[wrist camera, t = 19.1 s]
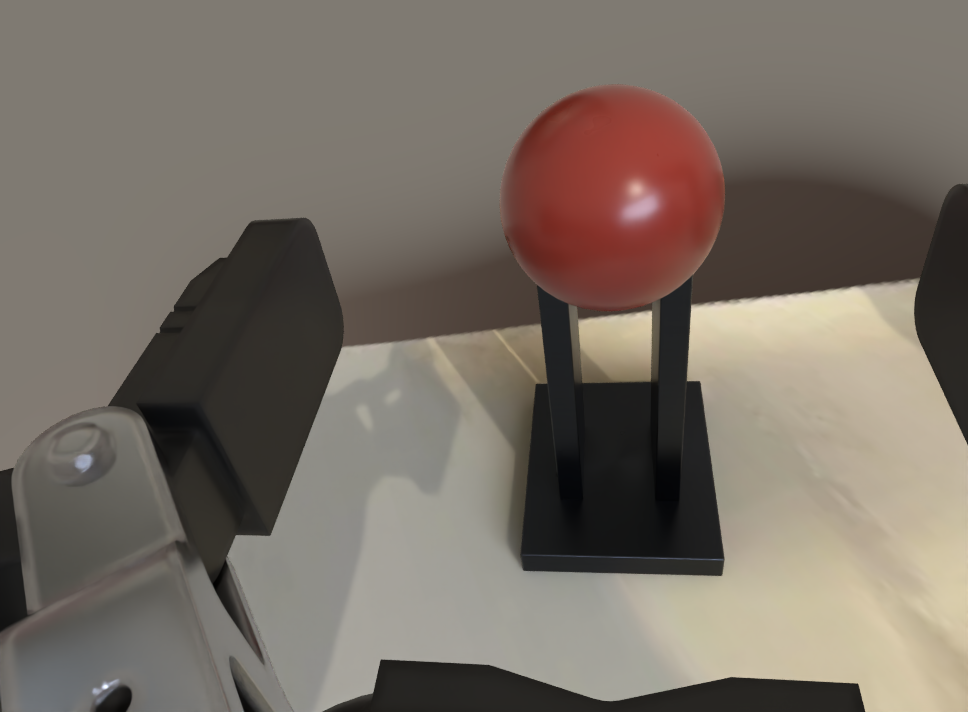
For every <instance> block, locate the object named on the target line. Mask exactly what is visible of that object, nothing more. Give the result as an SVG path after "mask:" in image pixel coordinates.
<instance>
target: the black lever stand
mask: <svg viewBox="0 0 968 712" xmlns="http://www.w3.org/2000/svg"><path fill="white" fill-rule="evenodd" d="M692 283H693V275H692V276H691V277H690V278H689V279H688V280H686V281H685V282H684V283H683V284H682V285H681V286H680V287H678V288H677V289H675V290H674V291H673V292H671V293H670V294H668V295H666V296H664V297H663V298H661V299H659V300H657V301H655V302H652V356H651V382H620V383H582V374H581V359H580V343H579V328H578V313H577V306H574V305H570V304H568V303H566V302H564V301H561V300H559V299H557V298H555V297H554V296H552V295H550V294H549V293H547V292H546V291H544V290H543V289H542V288H541V287H539V286H538V285H537V290H538V300H539V309H540V318H541V327H542V337H543V346H544V355H545V365H546V374H547V383H548V384H536V387H535V398H534V409H533V420H532V431H531V443H530V454H529V465H528V476H527V487H526V499H525V510H524V521H523V532H522V543H521V554H520V555H521V560H522V566H523V570H524V571H553V572H592V573H631V574H670V575H708V576H721V575H722V574H723V567H724V552H723V544H722V537H721V530H720V522H719V515H718V508H717V500H716V493H715V486H714V478H713V471H712V464H711V456H710V449H709V442H708V434H707V427H706V420H705V413H704V405H703V398H702V391H701V383H700V381H687V367H688V350H689V334H690V317H691V299H692Z"/></svg>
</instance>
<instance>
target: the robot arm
mask: <svg viewBox="0 0 968 712" xmlns="http://www.w3.org/2000/svg"><path fill="white" fill-rule="evenodd" d="M914 316H915V326H916V331H917V335H918V338H919V340H920V343H921V345H922V347H923V349H924V351H925V354H926V356H927V358H928V360H929V362H930V364H931V367H932V369H933V371H934V373H935V375H936V377H937V380H938V382H939V384H940V386H941V388H942V390H943V392H944V395H945V397H946V399H947V401H948V403H949V405H950V408H951V410H952V412H953V414H954V416H955V418H956V421H957V423H958V425H959V427H960V429H961V431H962V434H963V436H964V438H965V440H966V442H967V444H968V184H958V185H956V186H954V187H952V188H951V189H950V191H949V192H948V194H947V196H946V198H945V200H944V203H943V205H942V208H941V211H940V215H939V218H938V221H937V225H936V228H935V231H934V235H933V238H932V241H931V244H930V248H929V251H928V254H927V258H926V261H925V264H924V268H923V271H922V274H921V277H920V281H919V284H918V287H917V291H916V297H915V306H914ZM343 328H344V326H343V315H342V310H341V306H340V303H339V299H338V296H337V293H336V290H335V287H334V284H333V281H332V278H331V274H330V272H329V268H328V265H327V262H326V259H325V256H324V253H323V250H322V247H321V243H320V241H319V237H318V235H317V232H316V229H315V227H314V225H313V224H312V223H311V221H310V220H309V219H307V218H291V219H274V220H273V219H272V220H255V221H252V222H251V223H249V225H248V226H247V227H246V229H245V231H244V232H243V234H242V235H241V237H240V238H239V240H238V242H237V243H236V245H235V246H234V248H233V249H232V251H231V253H230V254H229V256H228V257H227V258H219V259H218V260H217V261H215V262H214V263H213V264H211V265H210V266H209V267H208V268H206V269H205V270H204V271H203V272H202V273H200V274H199V275H198V276H196V277H195V278H194V279H193V280H191V281H190V283H189V284H188V286H187V287H186V289H185V290H184V292H183V294H182V295H181V297H180V298H179V299H178V301H177V302H176V304H175V305H174V312H170V313H169V315H168V316H167V318H166V319H165V321H164V322H163V324H162V325H161V327H160V333H156V334H155V336H154V337H153V339H152V340H151V342H150V343H149V345H148V346H147V348H146V349H145V351H144V352H143V354H142V355H141V357H140V358H139V360H138V361H137V363H136V364H135V366H134V367H133V369H132V370H131V372H130V373H129V375H128V376H127V378H126V380H125V381H124V382H123V384H122V386H121V387H120V388H119V390H118V391H117V393H116V394H115V396H114V397H113V399H112V400H111V402H110V404H109V405H108V406H107V407H99V408H93V409H90V410H86V411H82V412H80V413H77V414H74V415H72V416H70V417H68V418H66V419H64V420H62V421H60V422H58V423H56V424H55V425H53V426H51V427H50V428H49V429H47V430H46V431H44V432H43V433H42V434H41V435H39V436H38V437H37V438H36V439H35V440H34V441H33V442H32V443H31V444H30V445H29V446H28V447H27V448H26V449H25V450H24V452H23V453H22V455H21V456H20V458H19V459H18V461H17V463H16V465H15V467H14V468H11V469H8V470H3V471H0V712H294V711H293V709H292V707H291V706H290V704H289V702H288V700H287V698H286V696H285V694H284V692H283V690H282V688H281V685H280V683H279V681H278V679H277V676H276V674H275V671H274V669H273V666H272V664H271V661H270V658H269V656H268V653H267V651H266V648H265V646H264V643H263V641H262V638H261V636H260V633H259V630H258V628H257V625H256V623H255V620H254V618H253V615H252V613H251V610H250V607H249V605H248V602H247V600H246V597H245V595H244V592H243V590H242V587H241V585H240V582H239V579H238V577H237V574H236V572H235V569H234V567H233V565H232V563H231V561H230V560H229V558H228V557H227V555H228V552H229V550H230V548H231V545H232V543H233V540H234V538H235V536H236V535H261V536H270V535H271V533H272V530H273V527H274V525H275V522H276V519H277V517H278V514H279V512H280V509H281V506H282V504H283V501H284V498H285V496H286V493H287V491H288V488H289V485H290V483H291V480H292V477H293V475H294V472H295V469H296V467H297V464H298V462H299V459H300V456H301V454H302V451H303V448H304V446H305V443H306V441H307V438H308V435H309V433H310V430H311V427H312V425H313V422H314V419H315V417H316V414H317V412H318V409H319V406H320V404H321V401H322V398H323V396H324V393H325V390H326V388H327V385H328V383H329V380H330V377H331V375H332V372H333V369H334V367H335V364H336V362H337V359H338V356H339V354H340V351H341V348H342V343H343V332H344V331H343ZM323 712H865V709H864V705H863V701H862V697H861V693H860V689H859V685H858V684H854V683H834V682H815V681H795V680H775V679H755V678H736V677H730V678H725V679H721V680H716V681H711V682H706V683H701V684H697V685H692V686H687V687H682V688H677V689H673V690H668V691H663V692H658V693H653V694H648V695H644V696H639V697H634V698H629V699H624V700H619V701H601V700H597V699H593V698H590V697H586V696H583V695H580V694H577V693H574V692H571V691H568V690H565V689H562V688H559V687H556V686H552V685H549V684H546V683H543V682H540V681H537V680H534V679H531V678H528V677H525V676H521V675H518V674H515V673H512V672H509V671H506V670H503V669H500V668H497V667H494V666H490V665H479V664H459V663H439V662H420V661H400V660H381V661H380V666H379V670H378V674H377V679H376V683H375V688H374V692H373V694H368V695H364V696H360V697H357V698H355V699H352V700H349V701H346V702H343V703H340V704H338V705H335V706H333V707H331V708H329V709H327V710H325V711H323Z"/></svg>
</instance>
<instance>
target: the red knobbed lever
mask: <svg viewBox="0 0 968 712" xmlns="http://www.w3.org/2000/svg"><path fill="white" fill-rule="evenodd" d="M724 203H725V186H724V176H723V171H722V167H721V163H720V160H719V157H718V155H717V152H716V149H715V147H714V145H713V143H712V142H711V140H710V138H709V136H708V134H707V133H706V131H705V130H704V129H703V127H702V126H701V124H700V123H699V122H698V121H697V120H696V119H695V118H694V117H693V116H692V115H691V114H690V113H689V112H688V111H687V110H686V109H684V108H683V107H682V106H680V105H679V104H678V103H676V102H675V101H673V100H672V99H670V98H668V97H666V96H664V95H662V94H660V93H658V92H655V91H652V90H649V89H646V88H642V87H637V86H631V85H623V84H611V85H600V86H594V87H589V88H586V89H583V90H580V91H577V92H574V93H571V94H569V95H567V96H565V97H563V98H561V99H559V100H558V101H556V102H554V103H553V104H551V105H550V106H549V107H547V108H546V109H545V110H543V111H542V112H541V113H540V114H539V115H538V116H537V117H536V118H535V119H534V120H533V121H532V122H531V123H530V124H529V125H528V126H527V127H526V129H525V130H524V131H523V132H522V134H521V135H520V137H519V138H518V140H517V142H516V143H515V145H514V147H513V149H512V151H511V153H510V156H509V158H508V160H507V163H506V166H505V170H504V173H503V176H502V182H501V189H500V214H501V222H502V226H503V230H504V234H505V237H506V240H507V242H508V245H509V248H510V250H511V251H512V253H513V255H514V257H515V259H516V261H517V262H518V264H519V265H520V266H521V268H522V269H523V270H524V272H525V273H526V274H527V275H528V276H529V277H530V278H531V279H532V280H533V281H534V283H536V284H537V285H538V286H539V287H541V288H542V289H543V290H544V291H546V292H547V293H549V294H550V295H552V296H554V297H555V298H557V299H559V300H561V301H564V302H566V303H568V304H570V305H574V306H577V307H581V308H584V309H590V310H597V311H621V310H628V309H632V308H637V307H641V306H644V305H647V304H649V303H652V302H655V301H657V300H659V299H661V298H663V297H664V296H666V295H668V294H670V293H671V292H673V291H674V290H675V289H677V288H678V287H680V286H681V285H682V284H683V283H684V282H685V281H686V280H688V279H689V278H690V277H691V276H692V275H693V273H694V272H695V271H696V270H697V269H698V268H699V267H700V265H701V264H702V263H703V261H704V259H705V258H706V256H707V255H708V253H709V252H710V250H711V248H712V246H713V244H714V242H715V240H716V238H717V235H718V231H719V229H720V226H721V222H722V217H723V211H724Z"/></svg>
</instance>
